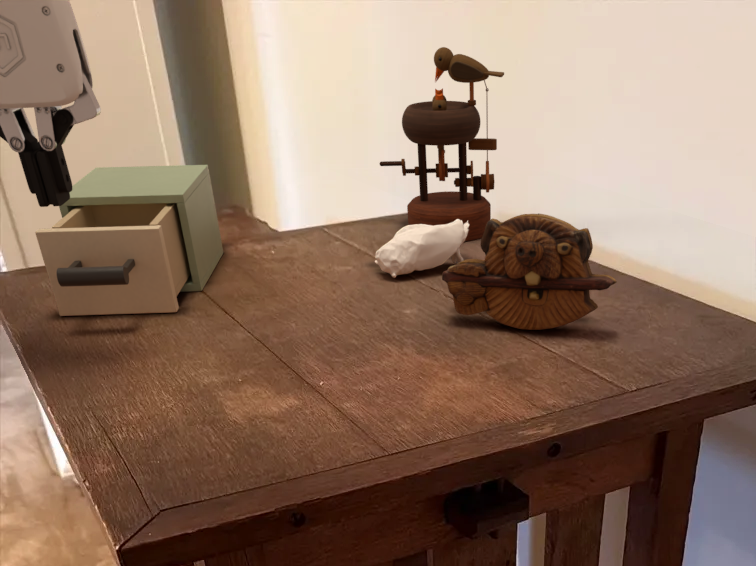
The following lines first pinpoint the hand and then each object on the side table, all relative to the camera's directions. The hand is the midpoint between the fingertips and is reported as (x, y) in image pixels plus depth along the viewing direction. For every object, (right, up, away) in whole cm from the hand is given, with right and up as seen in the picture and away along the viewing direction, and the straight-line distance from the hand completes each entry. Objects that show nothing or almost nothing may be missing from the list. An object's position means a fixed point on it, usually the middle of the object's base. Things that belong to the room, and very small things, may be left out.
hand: (55, 202), depth 75 cm
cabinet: (-2, +6, +29) cm, 29 cm away
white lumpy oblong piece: (+28, +5, +28) cm, 40 cm away
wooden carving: (+40, -6, +13) cm, 42 cm away
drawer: (-1, -1, +18) cm, 18 cm away
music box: (+30, +16, +41) cm, 53 cm away
